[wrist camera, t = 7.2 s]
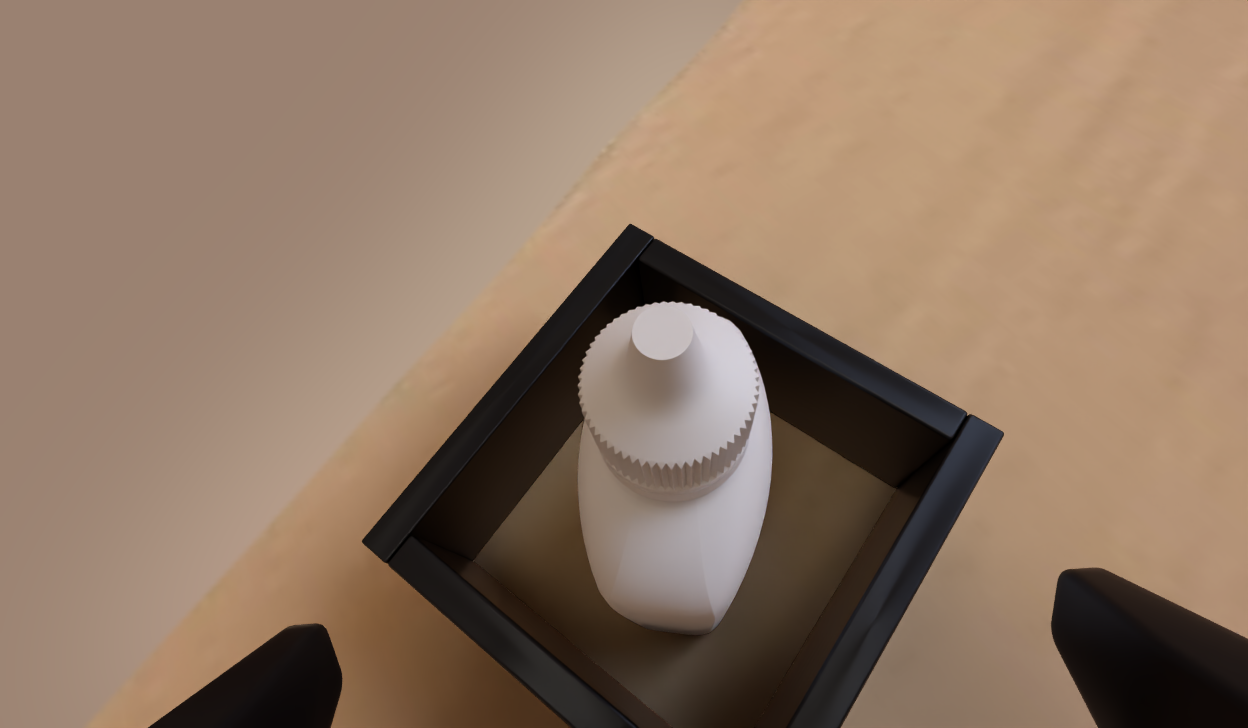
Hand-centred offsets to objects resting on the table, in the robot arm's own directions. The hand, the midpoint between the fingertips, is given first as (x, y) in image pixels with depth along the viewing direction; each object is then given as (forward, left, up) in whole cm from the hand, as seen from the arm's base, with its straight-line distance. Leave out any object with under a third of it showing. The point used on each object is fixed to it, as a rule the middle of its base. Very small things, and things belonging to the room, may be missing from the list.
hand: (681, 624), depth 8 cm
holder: (0, -3, -10) cm, 10 cm away
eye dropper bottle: (0, -3, -10) cm, 11 cm away
